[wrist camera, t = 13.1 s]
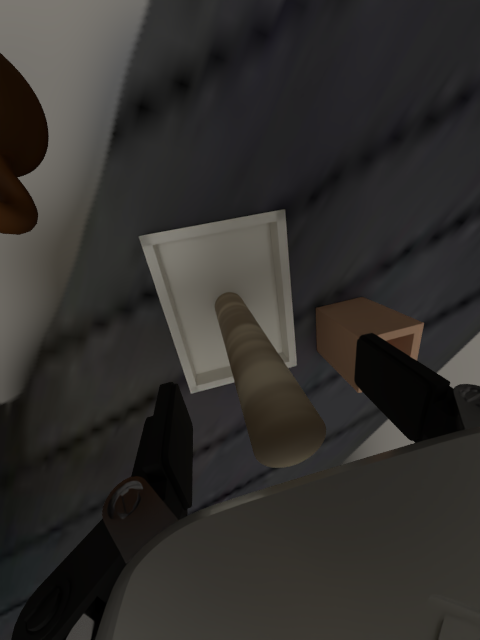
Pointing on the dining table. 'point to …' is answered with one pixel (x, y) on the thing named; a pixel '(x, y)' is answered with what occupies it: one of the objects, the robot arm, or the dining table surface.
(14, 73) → the mug
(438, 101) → the dining table surface
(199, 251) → the plastic tray
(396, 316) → the terracotta cup
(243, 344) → the beech dowel
